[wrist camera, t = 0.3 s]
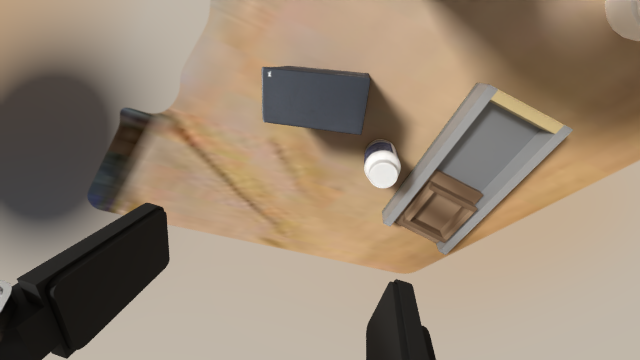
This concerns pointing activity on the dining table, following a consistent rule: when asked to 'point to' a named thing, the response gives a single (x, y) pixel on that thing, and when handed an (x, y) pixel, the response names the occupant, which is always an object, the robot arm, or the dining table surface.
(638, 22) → the honey pot
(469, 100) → the bay
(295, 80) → the small box
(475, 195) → the crate
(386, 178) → the pill bottle
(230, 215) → the dining table surface
